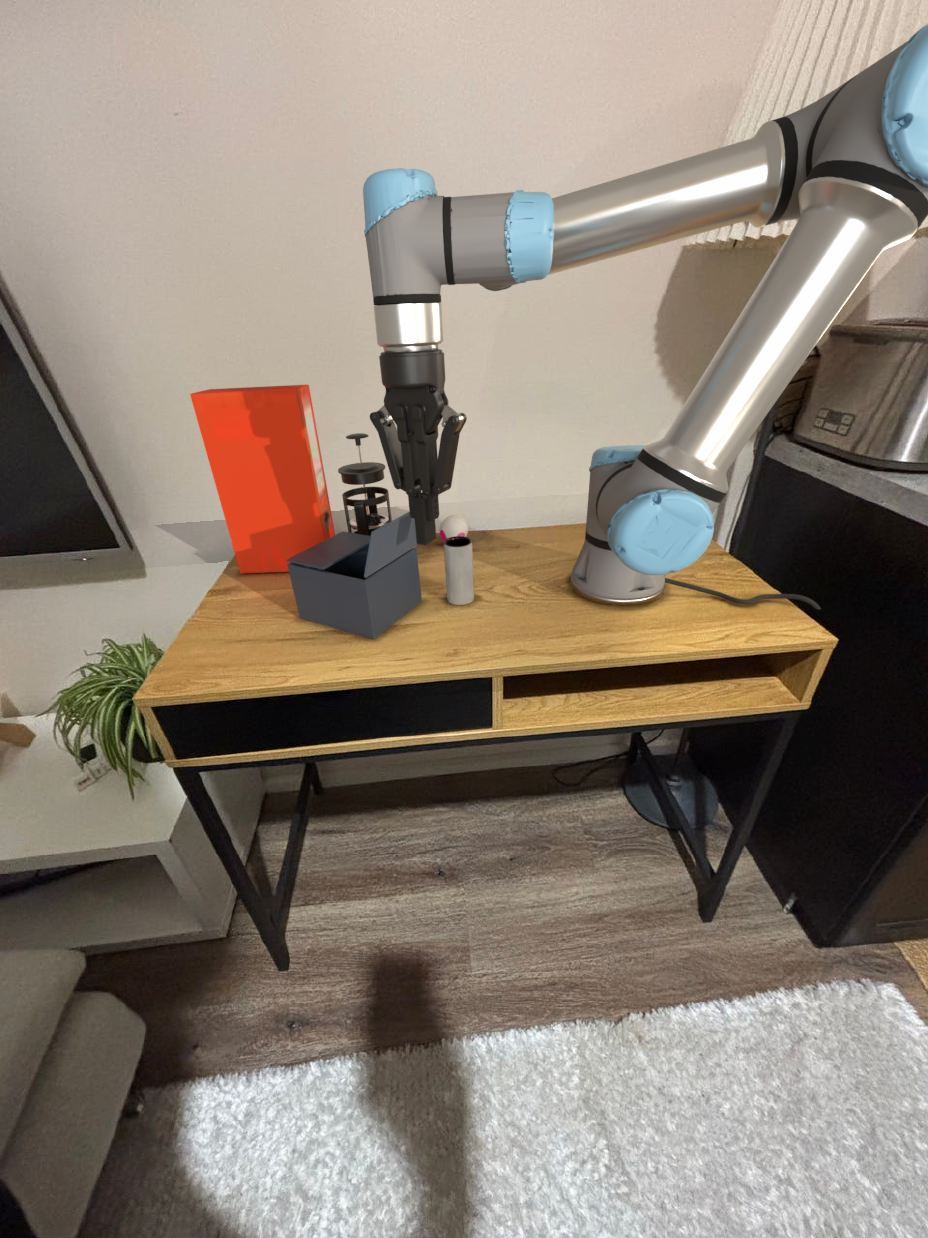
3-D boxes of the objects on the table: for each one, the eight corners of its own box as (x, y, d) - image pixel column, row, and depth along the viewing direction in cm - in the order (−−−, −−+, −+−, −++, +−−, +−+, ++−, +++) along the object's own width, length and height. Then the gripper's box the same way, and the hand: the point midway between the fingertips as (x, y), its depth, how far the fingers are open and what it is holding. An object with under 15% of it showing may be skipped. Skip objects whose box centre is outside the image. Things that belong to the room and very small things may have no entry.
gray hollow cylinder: (471, 606, 84) (469, 547, 78) (444, 604, 85) (440, 546, 79) (476, 593, 87) (474, 536, 82) (450, 592, 88) (447, 535, 83)
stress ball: (444, 551, 112) (425, 529, 109) (473, 529, 111) (454, 505, 108) (448, 564, 106) (428, 540, 103) (479, 540, 104) (459, 515, 101)
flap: (415, 544, 81) (417, 545, 81) (363, 576, 71) (365, 578, 71) (425, 502, 76) (427, 504, 76) (371, 531, 67) (373, 533, 66)
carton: (421, 601, 86) (416, 543, 81) (374, 639, 76) (364, 576, 71) (352, 585, 92) (342, 531, 87) (299, 618, 83) (285, 559, 78)
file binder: (255, 557, 106) (210, 388, 90) (339, 554, 105) (308, 383, 89) (240, 574, 99) (188, 394, 83) (330, 571, 98) (295, 388, 82)
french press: (357, 540, 111) (339, 429, 100) (399, 539, 111) (387, 427, 99) (343, 563, 101) (322, 442, 90) (390, 562, 101) (375, 440, 89)
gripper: (476, 345, 59) (481, 538, 71) (384, 347, 65) (403, 526, 77) (443, 349, 53) (454, 558, 65) (345, 351, 59) (372, 543, 71)
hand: (426, 541), depth 71 cm, fingers closed
